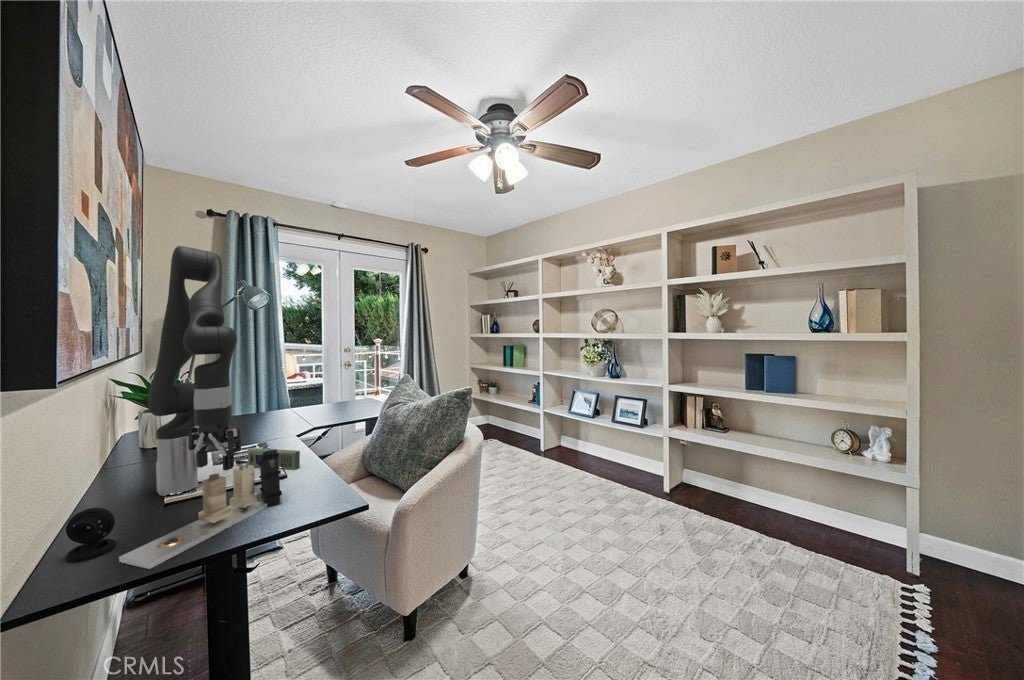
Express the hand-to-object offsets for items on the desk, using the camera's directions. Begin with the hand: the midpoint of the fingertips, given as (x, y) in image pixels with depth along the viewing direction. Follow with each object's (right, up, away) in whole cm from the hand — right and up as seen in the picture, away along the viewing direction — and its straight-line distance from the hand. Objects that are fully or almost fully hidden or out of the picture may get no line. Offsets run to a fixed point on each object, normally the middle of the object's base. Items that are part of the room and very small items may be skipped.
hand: (215, 467), depth 96 cm
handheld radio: (-13, -14, +41) cm, 45 cm away
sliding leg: (0, -13, 0) cm, 13 cm away
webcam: (-19, -15, -11) cm, 27 cm away
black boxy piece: (+4, -15, +16) cm, 22 cm away
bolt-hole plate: (-1, -15, -3) cm, 15 cm away
